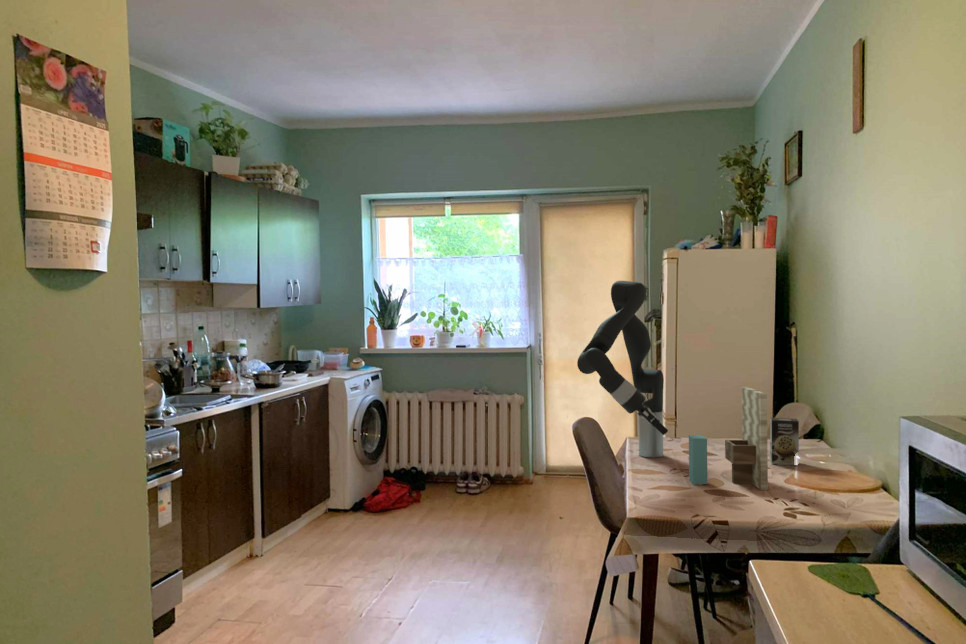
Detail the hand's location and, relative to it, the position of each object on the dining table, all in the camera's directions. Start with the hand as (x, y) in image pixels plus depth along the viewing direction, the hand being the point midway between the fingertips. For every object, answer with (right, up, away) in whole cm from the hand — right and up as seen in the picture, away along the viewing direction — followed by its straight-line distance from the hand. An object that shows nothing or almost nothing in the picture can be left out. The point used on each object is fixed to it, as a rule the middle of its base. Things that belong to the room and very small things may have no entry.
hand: (663, 430), depth 219 cm
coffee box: (+50, -16, +23) cm, 57 cm away
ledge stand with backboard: (+25, -17, -1) cm, 30 cm away
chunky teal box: (+11, -17, 0) cm, 20 cm away
